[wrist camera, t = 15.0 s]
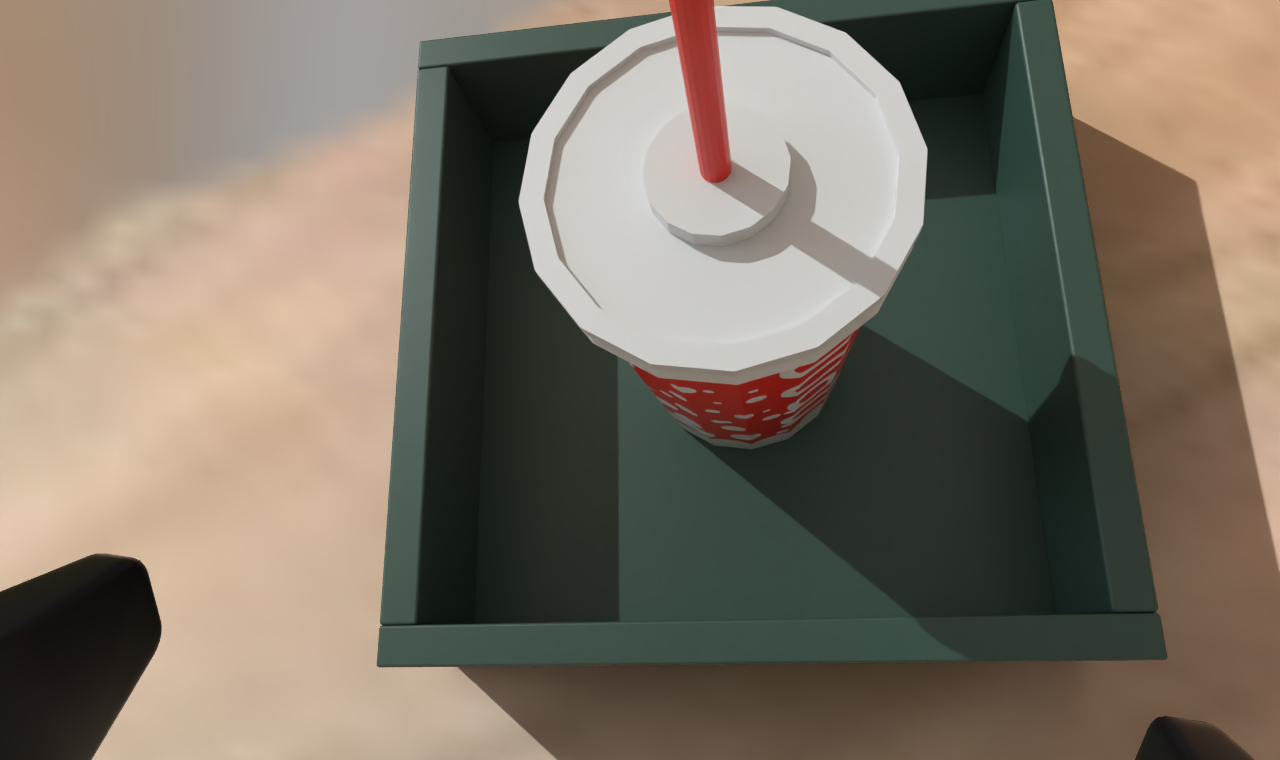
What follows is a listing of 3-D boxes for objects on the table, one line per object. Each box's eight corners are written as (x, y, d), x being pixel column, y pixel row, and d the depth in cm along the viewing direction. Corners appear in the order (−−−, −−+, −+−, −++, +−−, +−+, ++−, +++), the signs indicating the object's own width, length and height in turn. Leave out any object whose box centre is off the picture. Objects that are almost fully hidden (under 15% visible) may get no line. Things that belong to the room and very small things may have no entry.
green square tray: (1091, 656, 19) (1169, 660, 15) (450, 661, 21) (375, 667, 17) (1004, 78, 23) (1048, -34, 19) (474, 131, 25) (418, 40, 22)
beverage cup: (687, 526, 21) (517, 325, 7) (581, 312, 23) (296, -148, 9) (920, 407, 21) (1164, -8, 7) (793, 203, 23) (807, -416, 9)
